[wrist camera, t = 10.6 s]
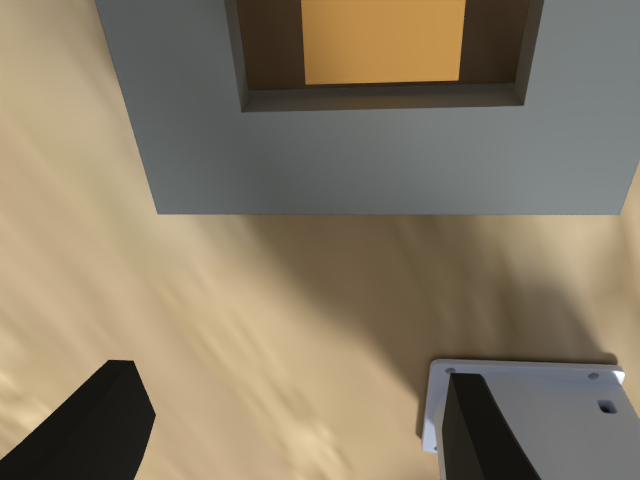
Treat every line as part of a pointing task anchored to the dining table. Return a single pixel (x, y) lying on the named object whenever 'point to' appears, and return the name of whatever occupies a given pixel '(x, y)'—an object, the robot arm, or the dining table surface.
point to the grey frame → (382, 122)
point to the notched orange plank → (381, 40)
